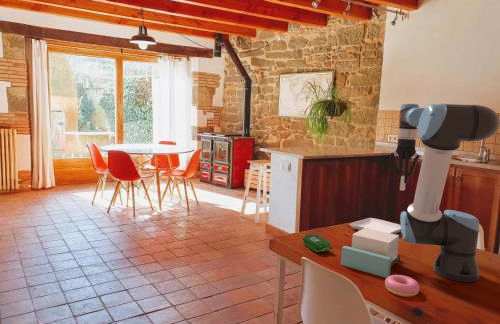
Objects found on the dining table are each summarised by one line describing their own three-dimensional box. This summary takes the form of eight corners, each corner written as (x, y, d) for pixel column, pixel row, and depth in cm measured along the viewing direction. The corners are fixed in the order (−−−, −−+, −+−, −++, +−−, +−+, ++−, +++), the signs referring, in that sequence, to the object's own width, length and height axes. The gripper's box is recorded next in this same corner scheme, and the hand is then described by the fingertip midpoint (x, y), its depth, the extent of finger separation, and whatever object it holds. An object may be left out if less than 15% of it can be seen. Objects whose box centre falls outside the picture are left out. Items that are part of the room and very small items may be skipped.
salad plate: (369, 222, 212) (370, 216, 212) (407, 232, 197) (408, 225, 197) (347, 229, 198) (348, 223, 197) (386, 240, 183) (387, 233, 182)
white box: (397, 257, 153) (399, 235, 152) (386, 266, 144) (388, 242, 143) (362, 248, 162) (364, 227, 161) (351, 256, 152) (352, 234, 151)
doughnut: (407, 302, 122) (408, 289, 122) (377, 288, 131) (378, 276, 131) (425, 293, 129) (427, 281, 128) (396, 281, 138) (397, 269, 137)
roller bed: (400, 260, 157) (400, 254, 157) (385, 273, 144) (386, 267, 143) (366, 251, 166) (366, 246, 165) (349, 263, 152) (350, 257, 152)
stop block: (389, 276, 141) (391, 257, 140) (387, 278, 139) (389, 259, 138) (343, 262, 152) (344, 245, 151) (340, 264, 150) (342, 247, 149)
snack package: (317, 256, 159) (318, 244, 158) (300, 243, 174) (301, 232, 173) (333, 254, 161) (333, 242, 161) (314, 242, 176) (315, 231, 175)
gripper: (424, 139, 174) (419, 191, 177) (394, 137, 182) (390, 186, 185) (419, 139, 168) (415, 193, 171) (389, 137, 176) (385, 188, 179)
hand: (402, 189), depth 178 cm, fingers closed
